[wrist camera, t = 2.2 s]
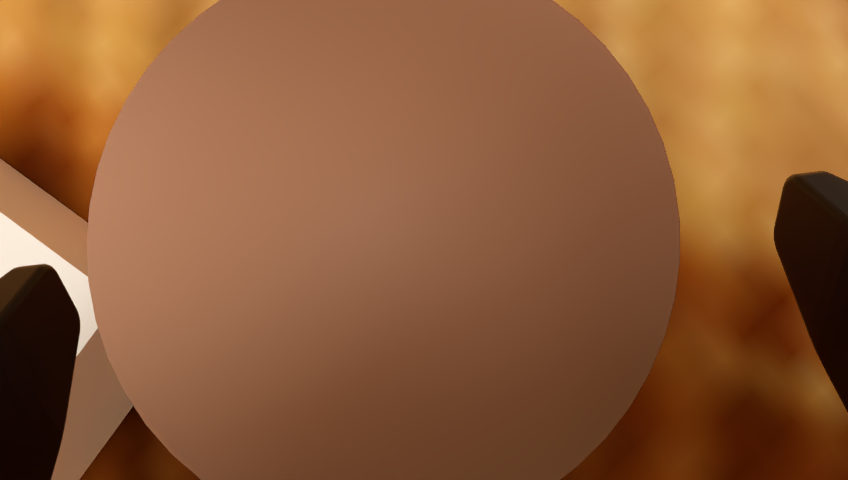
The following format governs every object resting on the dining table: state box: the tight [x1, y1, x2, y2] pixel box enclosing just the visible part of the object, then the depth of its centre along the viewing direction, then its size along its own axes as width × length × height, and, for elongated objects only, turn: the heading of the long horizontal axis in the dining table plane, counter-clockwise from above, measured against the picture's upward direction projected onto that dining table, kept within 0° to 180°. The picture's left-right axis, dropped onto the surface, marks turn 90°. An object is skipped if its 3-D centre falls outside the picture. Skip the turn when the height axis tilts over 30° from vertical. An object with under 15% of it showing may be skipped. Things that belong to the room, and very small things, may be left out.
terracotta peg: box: [86, 0, 680, 480], centre depth 11 cm, size 4×4×12 cm
